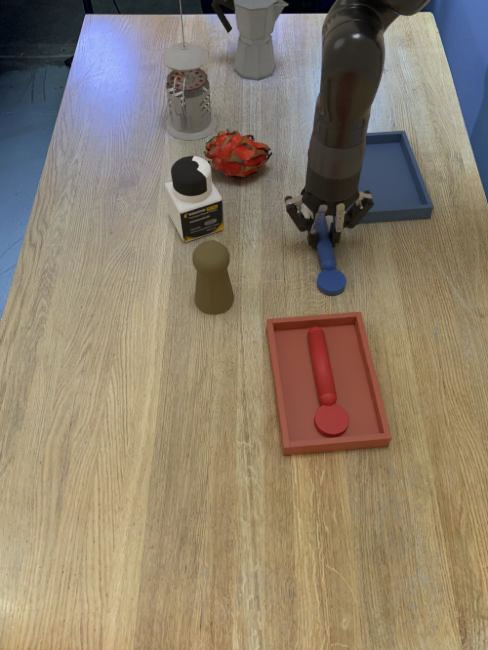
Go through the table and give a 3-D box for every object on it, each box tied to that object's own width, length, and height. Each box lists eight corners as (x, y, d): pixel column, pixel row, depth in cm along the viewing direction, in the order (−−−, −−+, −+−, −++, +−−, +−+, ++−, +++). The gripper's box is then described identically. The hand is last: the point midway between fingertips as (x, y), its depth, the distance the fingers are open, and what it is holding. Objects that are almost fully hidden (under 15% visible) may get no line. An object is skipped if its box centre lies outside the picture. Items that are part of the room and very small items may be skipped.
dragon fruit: (200, 174, 108) (265, 181, 110) (200, 179, 100) (271, 187, 102) (204, 125, 106) (271, 133, 107) (205, 126, 98) (278, 135, 99)
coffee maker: (288, 59, 126) (294, -31, 111) (280, 84, 121) (285, -7, 106) (220, 51, 128) (216, -39, 113) (209, 75, 123) (203, -16, 108)
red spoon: (298, 333, 86) (299, 324, 84) (328, 331, 87) (330, 321, 85) (316, 439, 77) (318, 431, 75) (350, 436, 77) (353, 428, 75)
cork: (206, 277, 93) (201, 228, 84) (241, 291, 91) (240, 242, 82) (187, 305, 90) (180, 257, 81) (222, 320, 88) (219, 273, 79)
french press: (221, 110, 116) (215, -25, 96) (209, 149, 110) (200, 14, 89) (172, 105, 117) (156, -30, 97) (157, 143, 111) (136, 8, 90)
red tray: (358, 321, 88) (360, 311, 86) (388, 446, 77) (391, 438, 75) (266, 328, 87) (266, 318, 85) (283, 455, 76) (284, 447, 74)
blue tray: (402, 141, 111) (405, 130, 109) (430, 218, 100) (434, 207, 98) (329, 146, 110) (330, 135, 108) (349, 224, 99) (351, 213, 97)
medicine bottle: (183, 243, 97) (176, 188, 87) (168, 214, 101) (159, 158, 91) (224, 230, 98) (221, 174, 89) (208, 202, 102) (203, 145, 92)
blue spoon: (303, 218, 100) (304, 208, 98) (329, 216, 100) (330, 206, 98) (319, 296, 91) (320, 287, 89) (347, 294, 91) (349, 284, 89)
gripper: (288, 180, 79) (282, 265, 94) (391, 173, 80) (370, 258, 94) (281, 144, 84) (276, 230, 98) (379, 137, 84) (360, 224, 99)
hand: (322, 243), depth 96 cm, fingers closed on blue spoon, 2 cm apart
